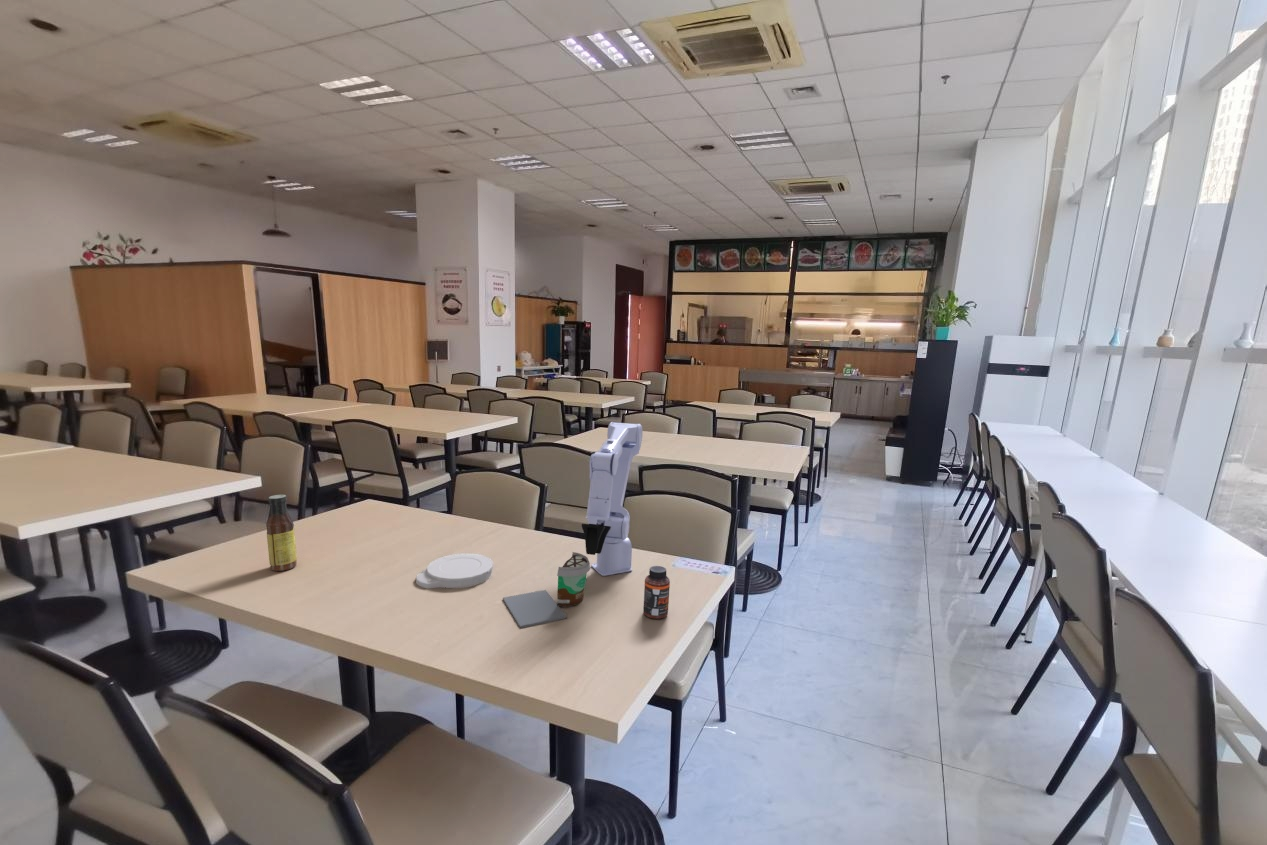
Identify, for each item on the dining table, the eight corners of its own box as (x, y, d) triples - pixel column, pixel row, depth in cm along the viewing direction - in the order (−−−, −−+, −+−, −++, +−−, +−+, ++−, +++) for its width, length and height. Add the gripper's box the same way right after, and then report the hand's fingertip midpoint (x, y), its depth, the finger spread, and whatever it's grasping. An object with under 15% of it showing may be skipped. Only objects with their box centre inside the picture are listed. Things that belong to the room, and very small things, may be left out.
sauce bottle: (302, 563, 151) (299, 493, 148) (286, 573, 145) (282, 500, 142) (280, 562, 151) (276, 492, 149) (262, 571, 145) (258, 498, 142)
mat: (545, 591, 140) (545, 589, 140) (566, 618, 127) (566, 616, 127) (502, 599, 135) (502, 597, 135) (520, 628, 122) (520, 625, 121)
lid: (408, 573, 148) (408, 562, 148) (480, 558, 160) (480, 549, 159) (425, 598, 134) (425, 586, 134) (503, 580, 146) (503, 570, 145)
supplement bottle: (660, 622, 126) (662, 576, 125) (638, 615, 129) (640, 569, 128) (672, 612, 131) (674, 567, 130) (651, 605, 134) (653, 561, 133)
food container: (579, 612, 129) (582, 571, 128) (554, 608, 130) (557, 567, 129) (593, 592, 141) (596, 554, 140) (570, 588, 142) (573, 551, 141)
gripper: (610, 499, 132) (604, 556, 129) (619, 502, 146) (613, 554, 143) (582, 496, 133) (575, 553, 130) (593, 499, 147) (587, 551, 144)
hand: (593, 553), depth 137 cm, fingers open, 7 cm apart
